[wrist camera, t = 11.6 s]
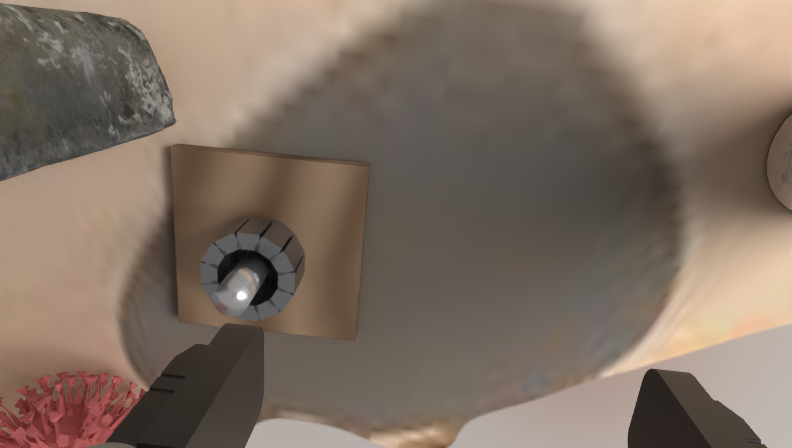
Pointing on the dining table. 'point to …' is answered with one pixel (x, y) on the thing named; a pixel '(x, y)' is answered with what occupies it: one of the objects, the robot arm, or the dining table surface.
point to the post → (244, 281)
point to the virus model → (65, 415)
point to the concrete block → (74, 86)
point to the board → (284, 202)
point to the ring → (268, 242)
